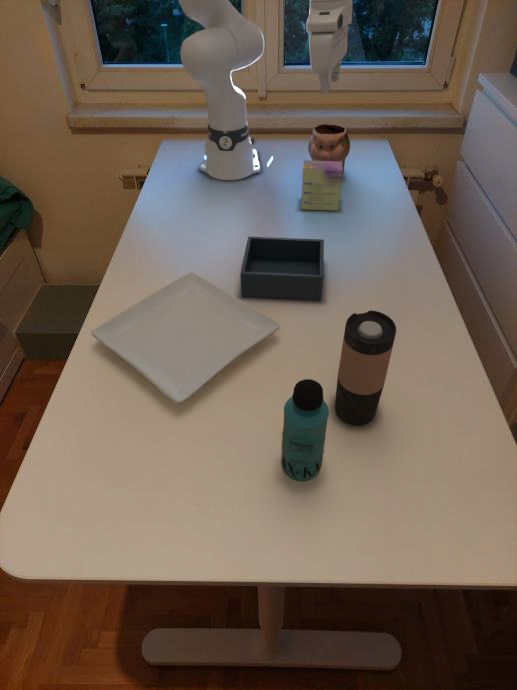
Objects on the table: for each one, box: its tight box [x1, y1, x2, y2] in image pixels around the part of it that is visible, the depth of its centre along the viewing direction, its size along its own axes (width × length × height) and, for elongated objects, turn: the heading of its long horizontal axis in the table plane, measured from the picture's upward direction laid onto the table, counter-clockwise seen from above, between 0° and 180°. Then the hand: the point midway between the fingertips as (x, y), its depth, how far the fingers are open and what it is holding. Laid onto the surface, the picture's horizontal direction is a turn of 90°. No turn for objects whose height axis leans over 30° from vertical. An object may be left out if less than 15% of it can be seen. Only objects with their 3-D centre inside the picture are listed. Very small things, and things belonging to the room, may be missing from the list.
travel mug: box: [334, 309, 397, 427], centre depth 81 cm, size 8×8×20 cm
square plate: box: [90, 272, 281, 405], centre depth 100 cm, size 27×27×4 cm
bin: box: [240, 236, 325, 303], centre depth 114 cm, size 15×18×7 cm
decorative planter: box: [307, 123, 351, 176], centre depth 149 cm, size 20×12×14 cm, turn 173°
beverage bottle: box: [279, 378, 330, 483], centre depth 73 cm, size 6×7×20 cm
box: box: [300, 159, 344, 212], centre depth 136 cm, size 10×6×12 cm, turn 84°
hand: (330, 86), depth 115 cm, fingers open, 8 cm apart
